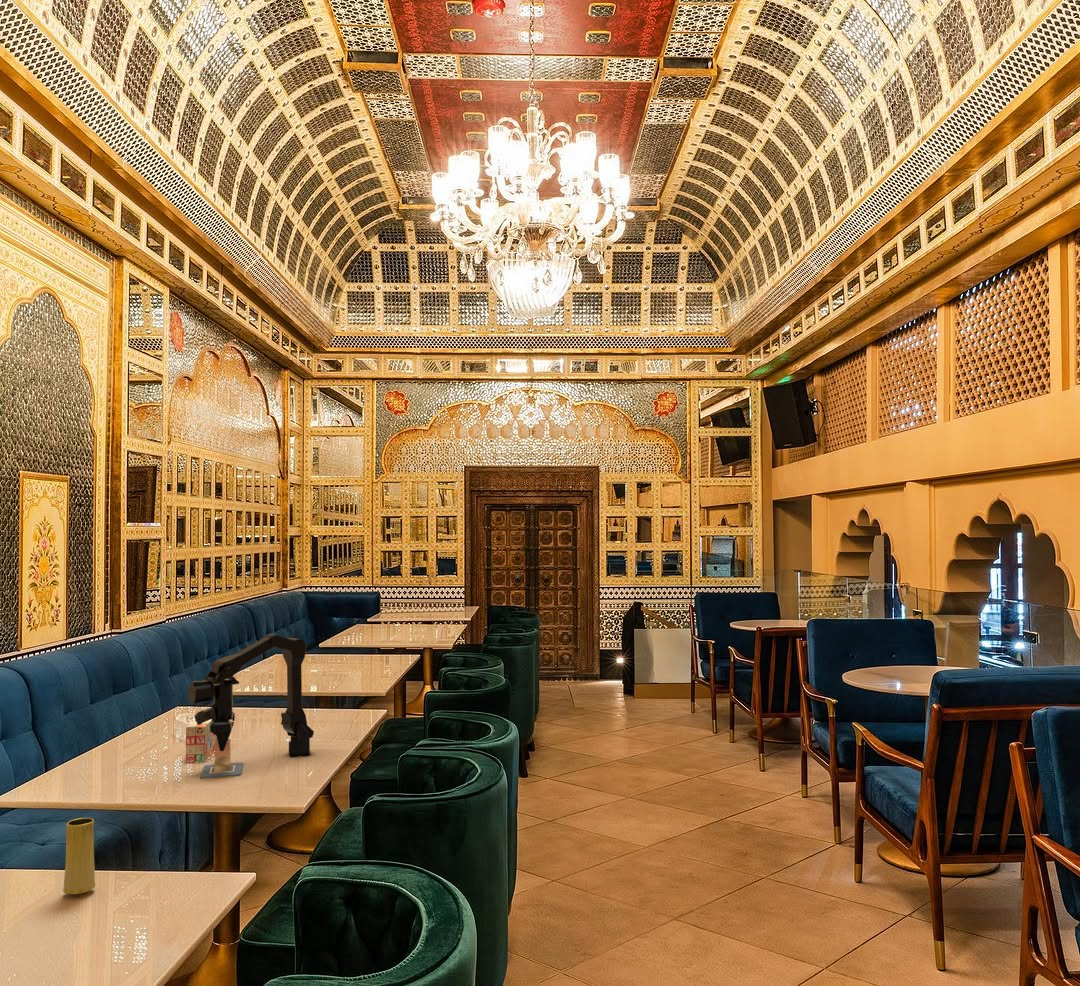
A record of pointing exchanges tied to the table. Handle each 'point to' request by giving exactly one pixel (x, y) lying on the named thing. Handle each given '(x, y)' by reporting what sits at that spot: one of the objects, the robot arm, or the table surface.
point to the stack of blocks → (199, 742)
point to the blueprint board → (209, 771)
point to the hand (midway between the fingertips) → (222, 748)
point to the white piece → (184, 724)
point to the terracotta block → (226, 751)
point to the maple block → (222, 763)
